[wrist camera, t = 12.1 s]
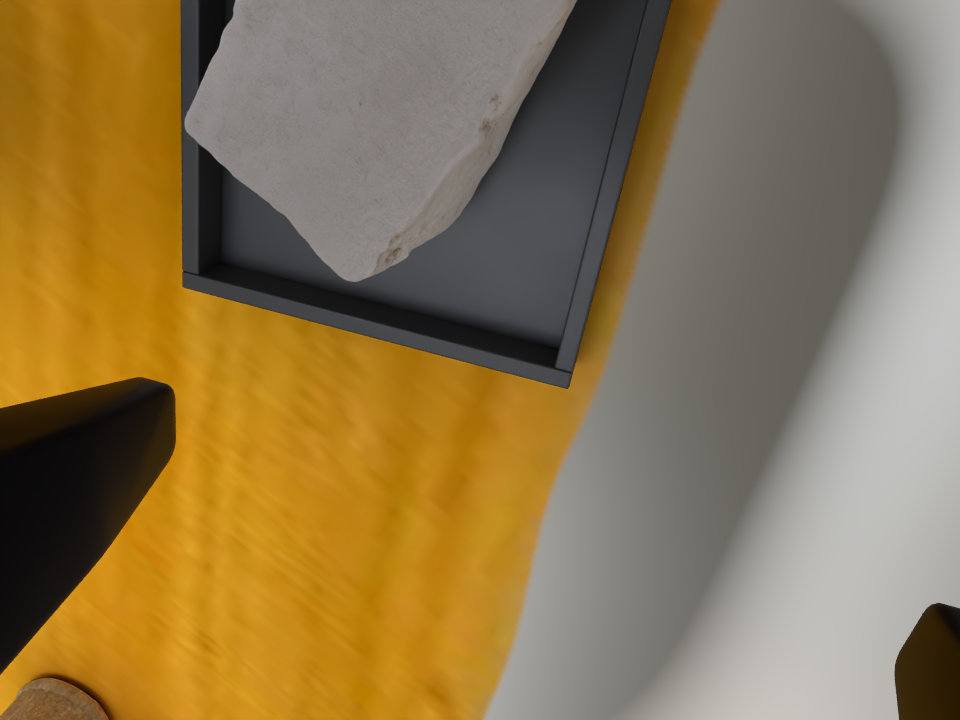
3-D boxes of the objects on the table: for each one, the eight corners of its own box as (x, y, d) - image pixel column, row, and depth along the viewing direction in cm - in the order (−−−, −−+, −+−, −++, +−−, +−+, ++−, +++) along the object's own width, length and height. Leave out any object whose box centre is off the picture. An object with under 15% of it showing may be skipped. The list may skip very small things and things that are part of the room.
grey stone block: (490, -154, 19) (416, -370, 13) (682, -2, 18) (690, -164, 12) (247, 156, 21) (90, 83, 15) (409, 312, 20) (305, 297, 14)
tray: (575, 363, 21) (568, 390, 20) (212, 270, 22) (181, 287, 21) (759, -330, 14) (769, -367, 13) (220, -408, 16) (176, -449, 14)
